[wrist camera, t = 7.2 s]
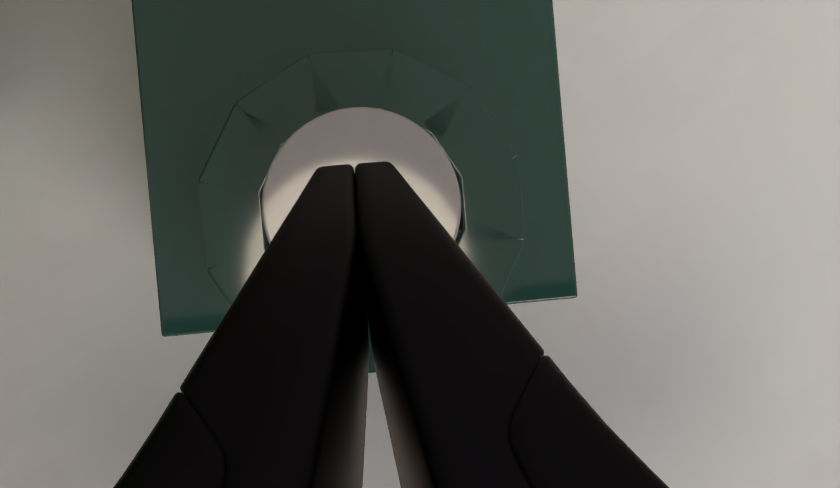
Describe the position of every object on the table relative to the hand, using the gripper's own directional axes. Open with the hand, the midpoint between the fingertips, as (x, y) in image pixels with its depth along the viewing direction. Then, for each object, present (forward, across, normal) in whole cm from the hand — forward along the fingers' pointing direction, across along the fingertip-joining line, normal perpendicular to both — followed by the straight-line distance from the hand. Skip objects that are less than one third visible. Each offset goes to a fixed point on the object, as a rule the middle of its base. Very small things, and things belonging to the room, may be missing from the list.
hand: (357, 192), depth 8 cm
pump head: (+4, 0, +4) cm, 5 cm away
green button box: (+11, 0, +7) cm, 14 cm away
